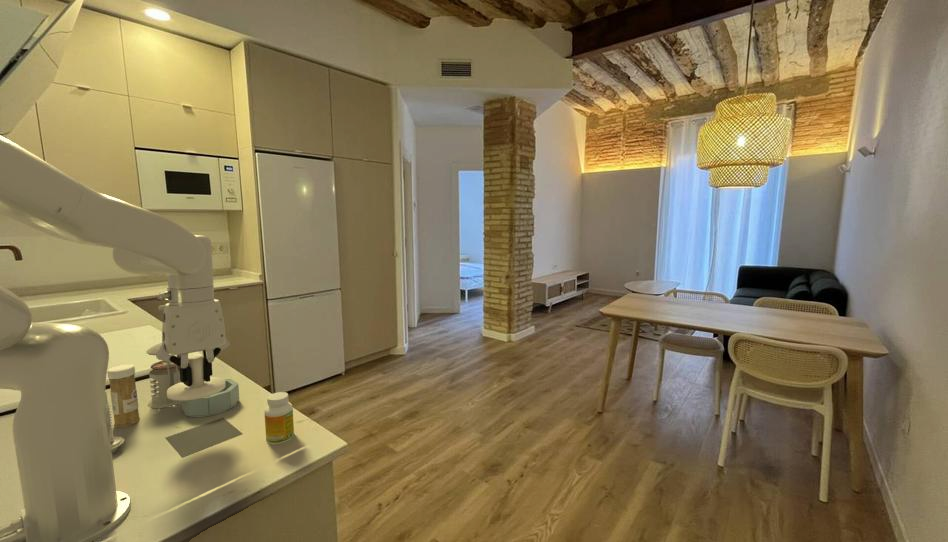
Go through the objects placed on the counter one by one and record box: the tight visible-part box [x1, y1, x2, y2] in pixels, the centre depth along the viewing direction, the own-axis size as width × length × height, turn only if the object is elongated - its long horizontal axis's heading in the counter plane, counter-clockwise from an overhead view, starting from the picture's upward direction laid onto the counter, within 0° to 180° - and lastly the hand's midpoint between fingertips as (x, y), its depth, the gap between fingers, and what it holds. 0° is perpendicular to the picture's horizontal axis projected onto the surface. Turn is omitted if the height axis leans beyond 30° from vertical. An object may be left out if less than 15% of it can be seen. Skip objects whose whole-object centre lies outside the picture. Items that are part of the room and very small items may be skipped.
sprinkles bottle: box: [107, 364, 141, 428], centre depth 88 cm, size 5×5×13 cm
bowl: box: [181, 378, 240, 418], centre depth 97 cm, size 11×11×5 cm
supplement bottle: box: [264, 391, 295, 445], centre depth 83 cm, size 5×5×10 cm
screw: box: [105, 391, 125, 454], centre depth 77 cm, size 13×5×5 cm
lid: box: [167, 355, 225, 401], centre depth 82 cm, size 10×10×7 cm
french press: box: [145, 304, 182, 409], centre depth 99 cm, size 10×12×25 cm
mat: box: [165, 417, 244, 458], centre depth 84 cm, size 11×11×1 cm
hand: (196, 381), depth 82 cm, fingers closed on lid, 2 cm apart
